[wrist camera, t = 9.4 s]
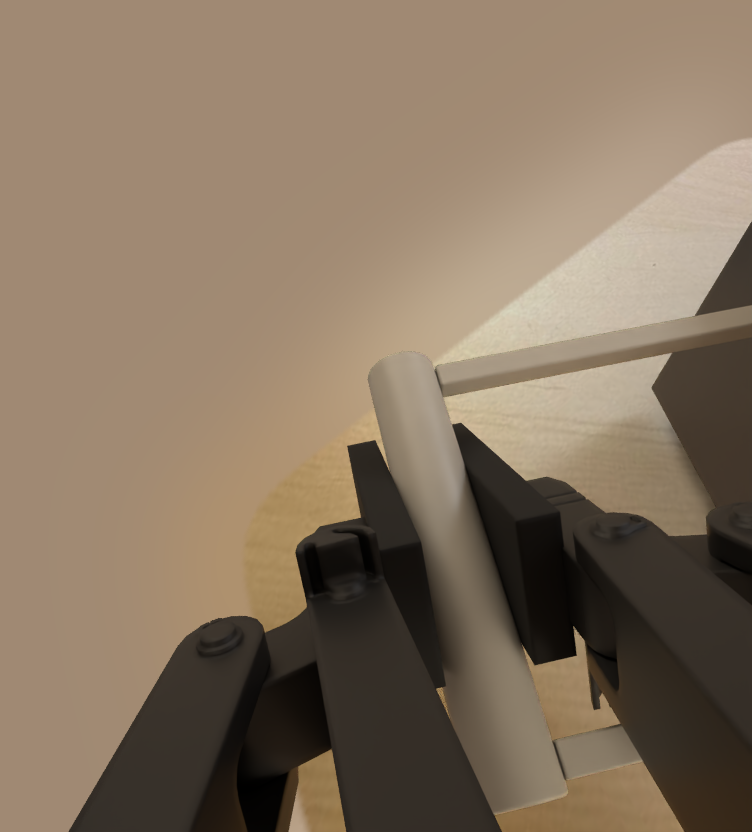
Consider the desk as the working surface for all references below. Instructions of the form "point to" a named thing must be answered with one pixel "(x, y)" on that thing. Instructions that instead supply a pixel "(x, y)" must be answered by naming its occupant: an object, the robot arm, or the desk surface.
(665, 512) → the desk surface
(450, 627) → the dark drawer
